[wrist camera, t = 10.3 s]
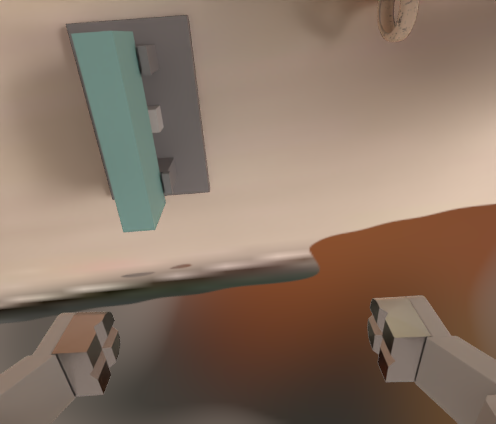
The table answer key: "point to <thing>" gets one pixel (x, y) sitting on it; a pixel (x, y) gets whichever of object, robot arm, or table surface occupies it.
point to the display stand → (164, 97)
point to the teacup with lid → (404, 20)
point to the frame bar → (122, 125)
